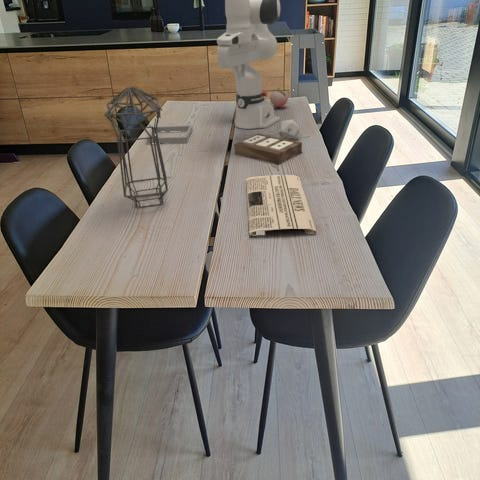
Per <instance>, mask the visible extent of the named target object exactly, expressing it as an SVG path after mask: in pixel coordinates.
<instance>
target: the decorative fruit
mask: <svg viewBox="0 0 480 480" xmlns="http://www.w3.org/2000/svg"><path fill="white" fill-rule="evenodd" d="M269 100H270V103H271V105H272V106H274V107H276V108H278V109H280V108H282V107H284V106H285V105H286V104H287V103H288V100H289V95H288V93H287V92H286V91H285V90H280V89H279V88H278V89H277V88H276V89H273V90H272V92H271V94H270V95H269Z"/></svg>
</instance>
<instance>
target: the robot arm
mask: <svg viewBox="0 0 480 480" xmlns="http://www.w3.org/2000/svg"><path fill="white" fill-rule="evenodd" d="M224 8H225V9H224V10H225V11H224V13H225V17H226V26H225V28H226V29H225V30H226V31H225V32H224V33H222V35H220V36H219V37H218V38H217V39H216V44H217V45H218V47H217V51H216V52H217V55H216V56H217V65H218V66H219V68H220V69H225V70H226V69H232V71H233V73H234V76H235V77H234V78H235V86H236V93H235V100H236V103H237V104H236V105H235V118H234V120H233V121H234V126H235V127H236V128H239V129H243V130H244V129H246V130H249V129H250V130H252V129H266V128H269V127H270V126H272V125H273V124H275V123H276V122H278V121H279V120H280V117H279V116H277V115H275V108H274V107H273V105H272V104H270V103H269V102H268V101H266V99H265V97H266V98H267V97H268V95H269V93H268V91H263V90H262V88H263V87H262V74H261V73H260V71H258V70H257V69H255V67H252V65H251V64H250V63H254V62H257V61H265V60H272V59H273V58H274V57H275V55H276V54H277V50H278V41H277V38H276V36H275V35H274V34H273V33H272V32H271V31H270V29H269V28H268V25H273V24H275V23H276V22H277V21H278V20H279V19H280V16H281V15H280V14H281V1H280V0H224Z"/></svg>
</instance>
